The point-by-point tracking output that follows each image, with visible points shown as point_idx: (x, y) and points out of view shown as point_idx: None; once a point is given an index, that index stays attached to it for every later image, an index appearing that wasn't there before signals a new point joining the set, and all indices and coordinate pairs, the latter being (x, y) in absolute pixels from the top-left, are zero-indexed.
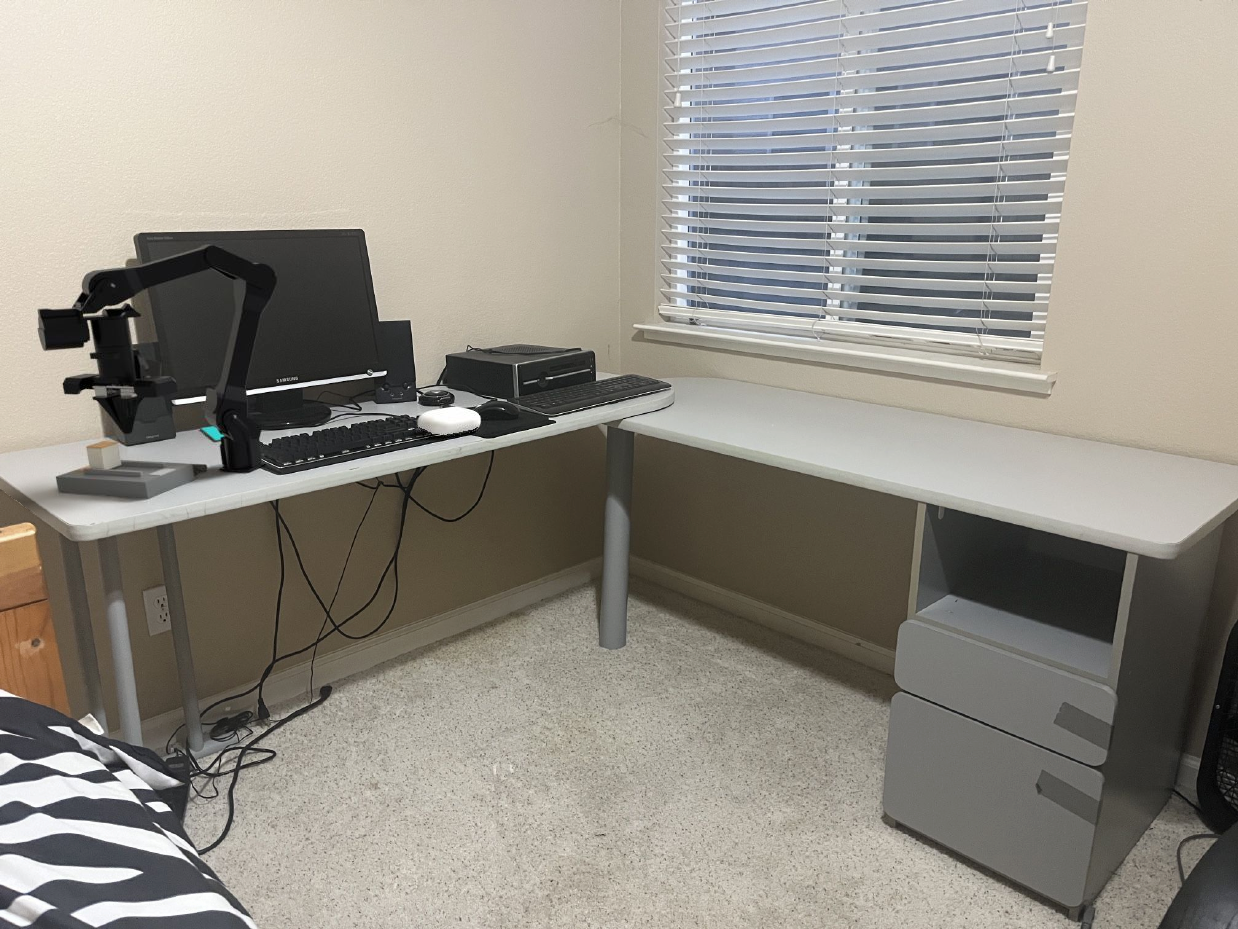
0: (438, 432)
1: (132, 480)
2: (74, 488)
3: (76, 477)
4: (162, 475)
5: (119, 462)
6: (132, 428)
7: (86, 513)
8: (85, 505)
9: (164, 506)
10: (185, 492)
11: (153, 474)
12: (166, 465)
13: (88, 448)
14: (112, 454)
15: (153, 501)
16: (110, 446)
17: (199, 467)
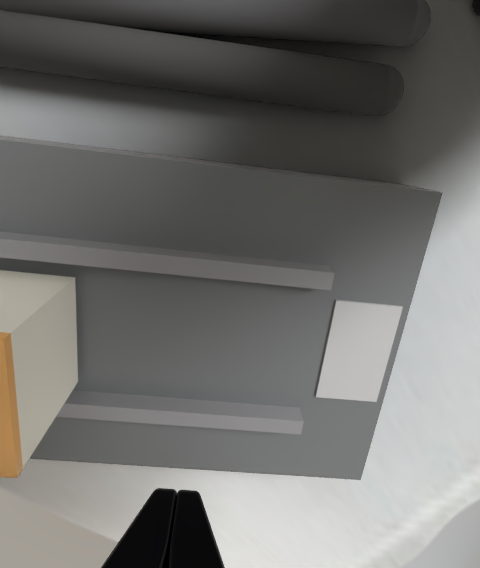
0: None
1: (293, 465)
2: None
3: None
4: (383, 396)
5: (68, 292)
6: (207, 523)
7: (232, 548)
8: None
9: (430, 482)
10: (438, 353)
11: (341, 396)
12: (313, 237)
13: None
14: (44, 357)
15: (371, 446)
16: (18, 396)
17: (386, 40)
